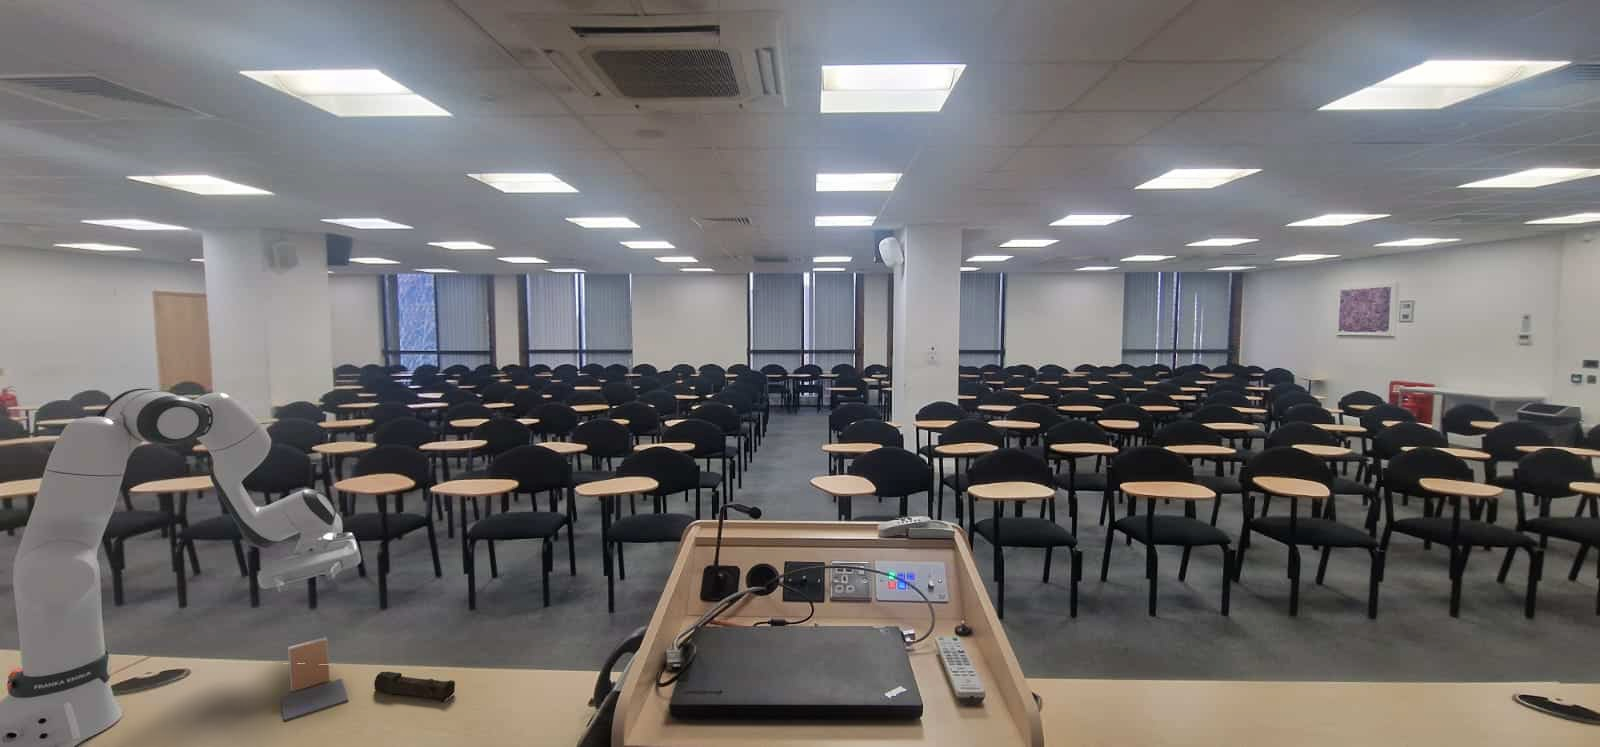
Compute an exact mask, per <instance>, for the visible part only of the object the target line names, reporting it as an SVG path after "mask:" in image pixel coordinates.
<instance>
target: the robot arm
mask: <svg viewBox="0 0 1600 747" xmlns="http://www.w3.org/2000/svg"><path fill="white" fill-rule="evenodd" d="M194 439H196V440H198V441H199V442H200V444H201V445H202V446H203V447H204V448H205V449H206V450H207V451H208V453H209V454H210V456H211V458H212V462H213V463H212V464H211V466H210V467H209V472H208V473H209V477H210V480H211V483H212V484H213V486H214V488H215V491H216V492H217V494H218V495H219V497H220V499H221V500H222V502H223V503H224V505H225V507H226V508H227V510H228V512H229V513H230V515H231V516H232V518H233V520H234V521H235V524H236V525H237V528H238V530H239V532H240V534H241V536H242V538H243V540H244V541H245V543H246V544H248V546H250V547H254V548H259V549H270V548H271V547H273V546H275V545H277V544H279V543H282V541H284V540H286V539H288V538H290V537H292V536H295V535H297V534H299V533H300V538H299V540H298V542H297V544H296V547H295V549H294V551H293V554H292V555H289V556H284V557H281V558H277V559H273V560H271V561H269V562H267V563H266V564H265V565H264V566H263V567H262V568H261V570H260V571H259V573H258V575H257V581H258V584H259V587H260V588H262V589H264V590H266V589H271V588H274V587H276V589H277V591H278V593H282V592H285V591H287V590H288V587H289V586H288V584H289V583H290V584H291V583H295V582H297V581H302V580H307V579H310V578H314V577H318V576H321V575H325V577H326V580H331V579H334V578H336V575H338V573H340V572H341V571H342V570H345V569H349V568H352V567H356V566H358V565H359V564H360V563H361V562H362V556H361V553H360V548H359V546H358V542H357V540H356V537H355V535H354V533H353V532H343V528H344V526H343V520H342V518H341V515H339V514H338V513H337V511H336V508H335V506H334V504H333V502H332V501H331V499H330V498H329V496H327V495H326V494H325V493H323V492H320V491H318V490H315V489H312V488H304V489H302V490H301V489H300V491H296V492H294V493H292V494H290V495H287V496H285V497H284V498H281V499H279V500H277V501H274V502H272V503H270V504H268V505H265V506H256V504H254V501H253V500H252V499H251V497H250V495H249V494H248V492H247V490H246V488H245V487H244V485H243V481H244V479H245V478H247V477H248V476H249V475H250V474H251V473H252V472H253V471H254V470H255V469H256V468H258V467H259V466H260V465H261V464H262V463H263V462H264V460H266V457H267V456H268V455H269V453H270V450H271V447H272V438H271V436H270V435H269V433H268V431H267V430H266V428H265V427H264V426H263V425H262V423H261V422H260V421H259V420H258V419H257V418H256V417H255V415H254V414H253V413H252V412H251V411H249V410H248V409H247V407H245V406H244V405H242V403H240V402H239V401H238V400H237V399H235V398H234V397H232V396H231V395H229V394H228V393H226V392H225V393H224V392H219V391H218V392H208V393H205V394H202V395H200V396H198V397H196V398H194V399H192V398H188V397H185V396H181V395H177V394H175V393H173V392H169V391H165V390H160V389H159V390H158V389H152V388H143V387H141V388H135V389H130V390H127V391H124V392H122V393H120V394H118V395H116V397H115V398H113V399H112V400H111V401H110V402H109V403H108V405H107V406H105V408H103V409H102V410H100V411H99V412H98V413H97V415H96V416H86V417H81V418H77V419H75V420H73V421H71V422H69V423H67V425H65V427H64V429H63V430H62V432H61V433H60V435H59V436H58V438H57V440H56V442H55V444H54V446H53V448H52V450H51V452H50V455H49V457H48V460H47V462H46V466H45V469H44V472H43V476H42V478H41V480H40V485H39V487H38V492H37V494H36V497H35V500H34V504H33V507H32V509H31V513H30V515H29V518H28V520H27V524H26V526H25V529H24V532H23V535H22V538H21V541H20V544H19V546H18V549H17V553H16V555H15V559H14V561H13V565H12V566H13V570H12V571H13V574H12V577H13V578H12V581H13V582H12V584H13V594H14V603H15V612H16V619H17V628H18V637H19V638H18V639H19V647H20V660H21V667H17V668H14V669H12V670H11V671H10V673H9V675H8V677H7V684H6V688H7V692H8V694H7V696H5V697H4V698H2V699H1V700H0V747H76V746H77V745H78V744H80V743H82V742H83V741H85V740H87V739H89V738H91V737H93V736H95V735H97V734H100V733H101V732H103V731H105V730H107V729H108V728H109V727H111V726H113V725H114V724H115V723H117V722H118V721H119V720H120V719H121V717H122V715H123V711H122V709H121V708H120V707H119V704H118V703H117V700H116V698H115V696H114V693H113V690H112V686H111V683H110V679H111V675H112V672H111V669H112V668H111V661H110V660H111V658H110V657H109V651H108V650H106V648H105V647H106V646H105V637H104V626H103V623H104V622H103V610H102V609H103V608H102V607H103V606H102V605H103V604H102V586H101V574H100V573H101V572H100V570H101V569H100V564H99V561H98V550H99V547H100V545H101V543H102V542H101V541H102V539H103V536H104V534H105V531H106V528H107V526H108V524H109V521H110V518H111V517H112V515H113V513H114V511H115V510H114V509H115V506H116V504H117V503H116V502H117V499H118V497H119V494H120V490H121V486H122V482H123V479H124V475H125V472H126V468H127V464H128V459H130V456H131V455H132V453H133V451H134V450H135V449H136V448H138V446H139V445H141V444H143V442H144V443H147V444H154V445H157V446H162V447H163V446H167V447H168V446H169V447H170V446H176V445H177V446H178V445H181V444H184V443H187V442H189V441H192V440H194Z"/></svg>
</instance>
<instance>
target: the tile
mask: <svg viewBox="0 0 1600 747" xmlns="http://www.w3.org/2000/svg"><path fill="white" fill-rule="evenodd" d="M328 644H329V643H328V637H327V636H325V637H321V638H317V639H314V640H309V641H306V642H302V643H298V644H293V645H290V646H288V649H287V650H288V651H287V652H288V661H289V662H288V663H289V664H288V665H289V666H288V667H289V681H290V691H294V692H296V691H295V690H297V691H299V690H298V689H300V690H303V688H304V689H307V688H311V687H315V686H318V685H322V684H325V683H328V682H331V677H330V675H331V674H330V665H319V664H330V661H329V645H328ZM297 663H305V664H297ZM310 686H311V687H310ZM306 687H307V688H306Z"/></svg>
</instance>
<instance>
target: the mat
mask: <svg viewBox="0 0 1600 747" xmlns="http://www.w3.org/2000/svg"><path fill="white" fill-rule="evenodd" d="M348 702H349V697H348V694H347V692H346V689H345V686H344V682H343V680H342V678H341V679H336V680H334V681H328V682H325V683H322V684H318V685H315V686H312V687H308V688H305V689H304V690H303V689H302V690H298V691H295V692H291V693H289V694H287V695H284V696H280V704H281V709H282V714H283V715H282V716H283V721H284V722H287V721H291V720H294V719H296V718H295V717H297V718H300V717H302V715H303V716H306V715H309V713H310V714H313V713H315V712H318V711H322V710H325V709H328V708H332V707H335V706H339V705H340V704H344V703H348ZM305 714H306V715H305ZM299 716H300V717H299ZM293 718H294V719H293ZM290 719H291V720H290Z"/></svg>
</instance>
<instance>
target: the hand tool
mask: <svg viewBox="0 0 1600 747" xmlns="http://www.w3.org/2000/svg"><path fill="white" fill-rule="evenodd" d="M373 683H374V684H373V686H374V690H375V691H376V692H378V693H380V694H383V693H384V695H387V696H390V695H393V696H396V695H399V694H400V695H406V696H413V697H414V696H416V697H422V698H429V699H435V698H438V699H437V700H441V702H443V701H445V700H446V699H447V698H449V697H450V696H451V695H452V694H453V693H454V694H455V689H456V682H455V680H453V679H452V680H447V681H446V680H445V681H443V680H439V679H436V680H435V679H433V678H428V679H426V678H425V679H424V678H416V677H415V678H414V677H408V676H402V673H401V672H396V671H395V672H394V671H381V672H379V673H378V674H377V675H376V677H375V680H374V682H373ZM454 694H453V695H454Z"/></svg>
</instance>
